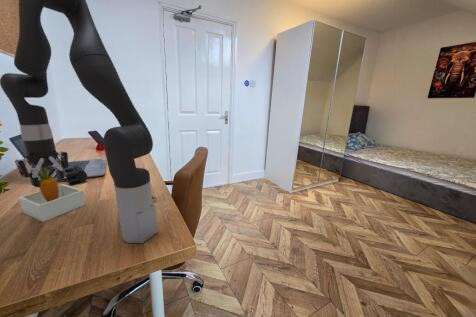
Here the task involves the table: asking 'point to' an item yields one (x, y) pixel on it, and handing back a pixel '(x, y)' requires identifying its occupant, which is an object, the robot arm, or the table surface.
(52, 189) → the carrot
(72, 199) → the bin
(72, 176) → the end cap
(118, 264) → the table surface
